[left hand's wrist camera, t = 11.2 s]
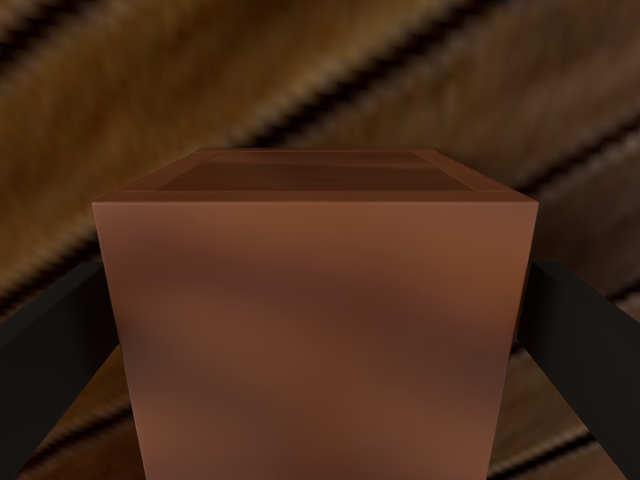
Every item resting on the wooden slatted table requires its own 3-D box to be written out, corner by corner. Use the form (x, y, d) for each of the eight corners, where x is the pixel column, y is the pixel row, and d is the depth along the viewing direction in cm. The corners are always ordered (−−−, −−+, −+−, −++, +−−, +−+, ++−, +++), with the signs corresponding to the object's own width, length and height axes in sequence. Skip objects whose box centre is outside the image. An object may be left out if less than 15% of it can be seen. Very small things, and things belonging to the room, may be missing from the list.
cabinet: (402, 460, 25) (450, 670, 16) (232, 461, 25) (183, 672, 16) (431, 147, 18) (541, 201, 9) (201, 147, 18) (89, 201, 9)
